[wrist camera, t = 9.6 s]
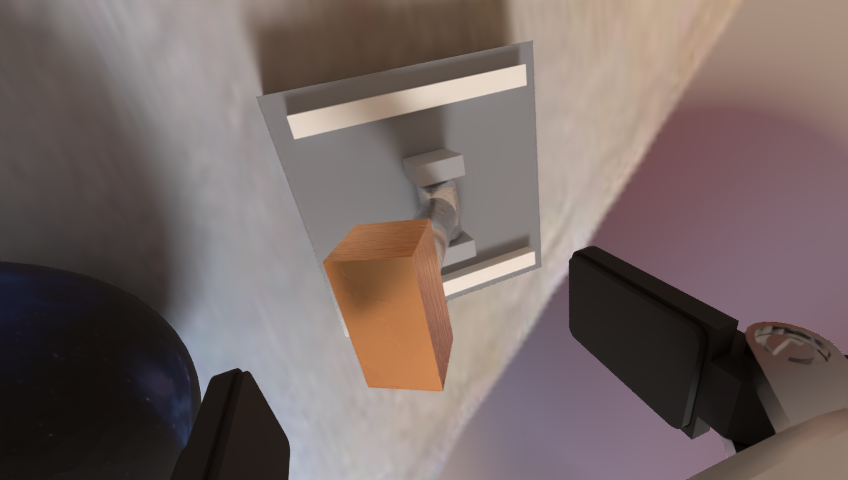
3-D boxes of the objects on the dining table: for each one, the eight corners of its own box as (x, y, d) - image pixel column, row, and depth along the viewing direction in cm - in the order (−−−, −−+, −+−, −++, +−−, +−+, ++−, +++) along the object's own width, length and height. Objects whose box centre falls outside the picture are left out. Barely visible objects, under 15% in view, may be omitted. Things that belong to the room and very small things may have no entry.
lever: (412, 160, 18) (322, 262, 9) (459, 154, 18) (411, 257, 9) (428, 242, 20) (368, 387, 12) (471, 239, 20) (443, 391, 11)
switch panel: (263, 96, 18) (247, 96, 13) (503, 47, 20) (566, 32, 16) (341, 310, 24) (351, 366, 19) (518, 249, 27) (566, 284, 22)
